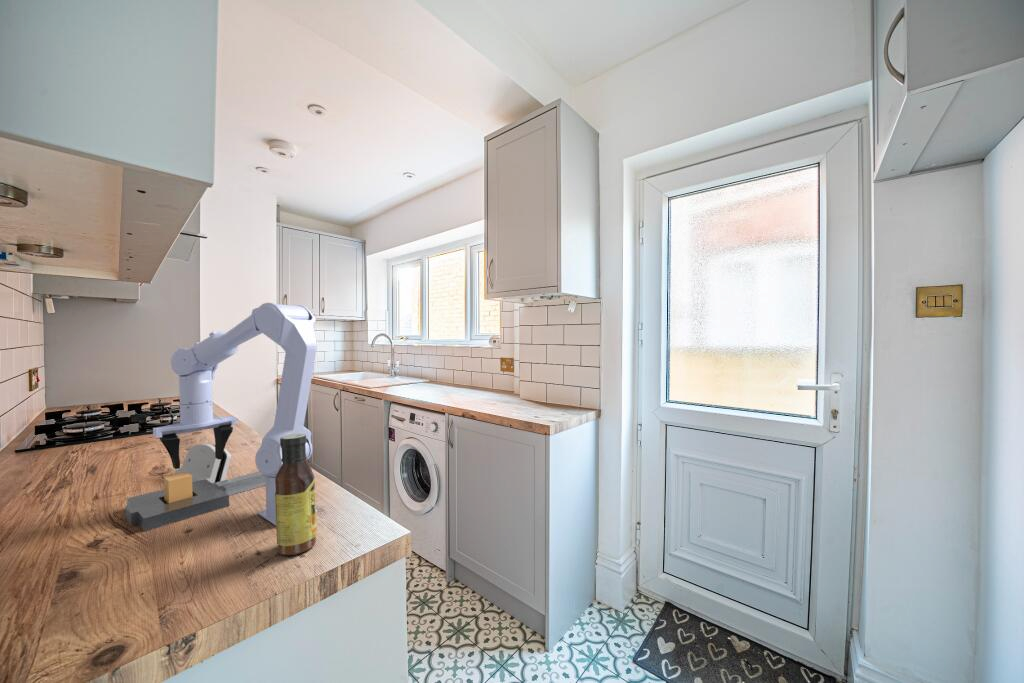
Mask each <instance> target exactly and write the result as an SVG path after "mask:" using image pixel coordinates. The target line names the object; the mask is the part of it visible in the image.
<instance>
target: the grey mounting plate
mask: <svg viewBox="0 0 1024 683" xmlns="http://www.w3.org/2000/svg"><path fill="white" fill-rule="evenodd" d="M263 485H265V486H266V477H265V476H263V474H262V473H261V472H260V471H259V470H258V471H256V472H255V471H254V472H252V473H247V474H243V475H240V476H236V477H233V478H228V479H225V480H224V481H220V482H214V483H211V482H209V481H208V480H206V479H204V480H200V481H196V482H192V492H193V497H190V498H186V499H183V500H179V501H175V502H171V503H168V504H167V502H166V501H165V500H164V488H163V489H160V490H155V491H152V492H147V493H143V494H139V495H135V496H131V497H126V505H125V507H124V508H125V512H124V513H125V519H126V521H127V522H128V523H129V525H130V526H135V525H139V527H140V528H141V529H142V531H143V530H144V531H143V532H147V531H150V529H151V530H153V529H152V528H154V529H157V528H160V527H159V526H161V527H163V526H162V525H164V526H166V524H167V525H170V524H169V523H171V524H173V522H174V523H176V522H181V521H184V520H186V519H190V517H191V518H194V517H197V516H200V515H204V514H208V513H211V512H213V510H214V511H217V510H220V508H221V509H224V508H226V507H227V508H228V507H230V496H233V494H234V495H237V494H241V493H243V491H244V492H247V490H248V491H251V490H254V489H253V488H255V489H257V487H258V488H261V487H260V486H262V487H264V486H263ZM250 489H251V490H250ZM240 492H241V493H240ZM236 493H237V494H236ZM229 495H230V496H229ZM210 511H211V512H210ZM156 527H157V528H156ZM146 530H147V531H146Z"/></svg>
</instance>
